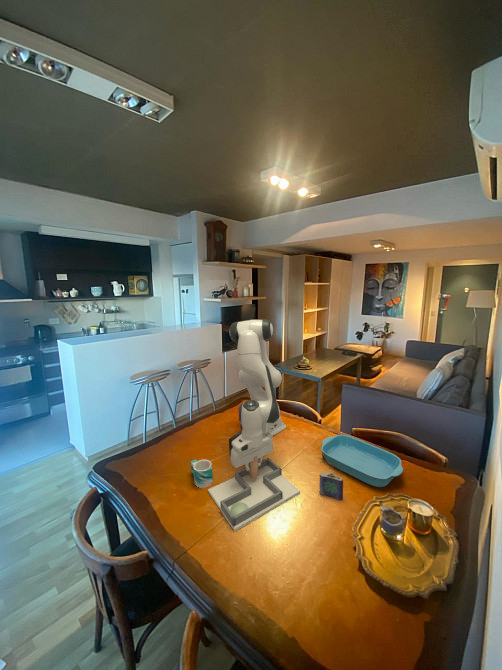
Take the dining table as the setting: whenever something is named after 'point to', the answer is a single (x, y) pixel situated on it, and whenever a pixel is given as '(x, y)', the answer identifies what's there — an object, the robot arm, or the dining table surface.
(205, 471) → the mug
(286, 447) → the dining table surface
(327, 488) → the flask
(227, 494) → the channel
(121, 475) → the dining table surface
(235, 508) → the pad
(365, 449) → the casserole dish
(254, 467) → the peg
